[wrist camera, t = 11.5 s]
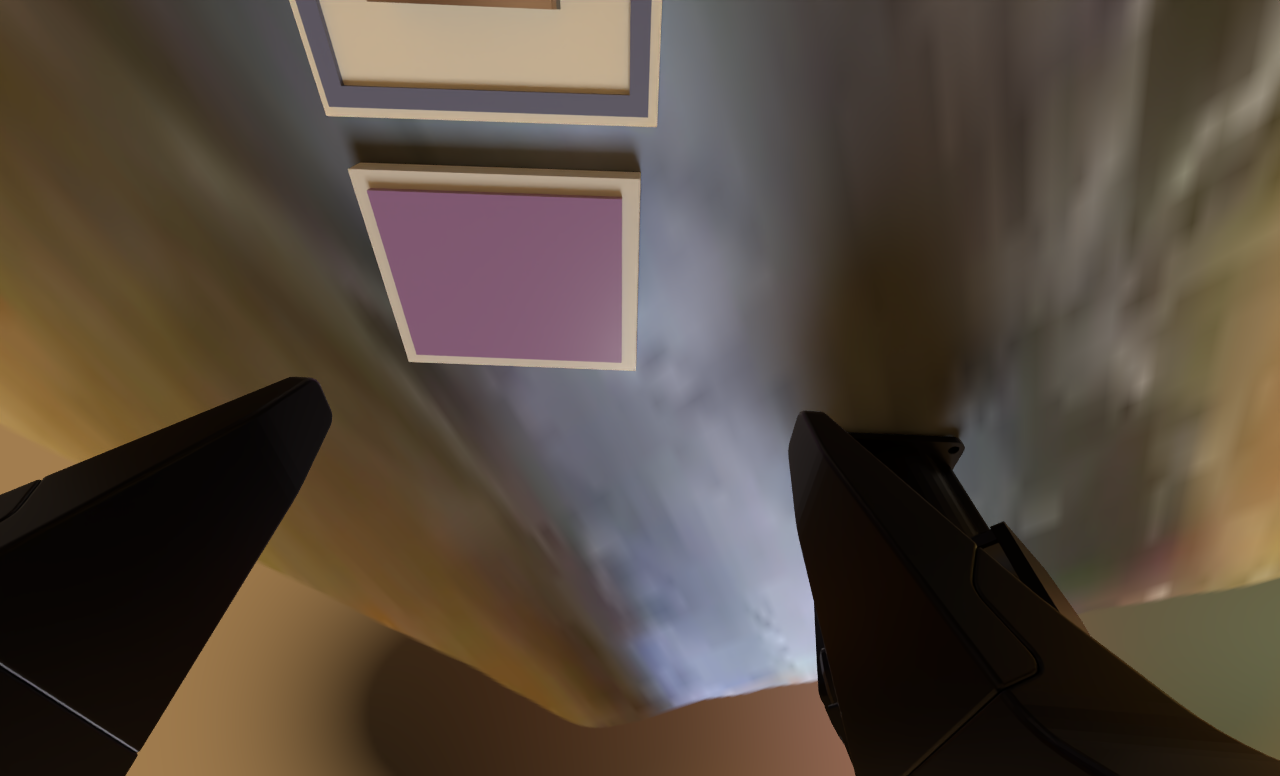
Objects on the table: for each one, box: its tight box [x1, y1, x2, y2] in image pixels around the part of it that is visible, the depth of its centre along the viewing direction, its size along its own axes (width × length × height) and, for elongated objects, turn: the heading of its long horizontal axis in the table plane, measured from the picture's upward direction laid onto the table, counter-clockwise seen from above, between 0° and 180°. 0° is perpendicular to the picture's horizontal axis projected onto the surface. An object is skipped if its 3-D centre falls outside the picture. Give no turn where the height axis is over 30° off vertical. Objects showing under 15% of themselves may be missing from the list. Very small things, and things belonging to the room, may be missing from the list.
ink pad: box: [348, 162, 641, 371], centre depth 19 cm, size 10×8×1 cm
